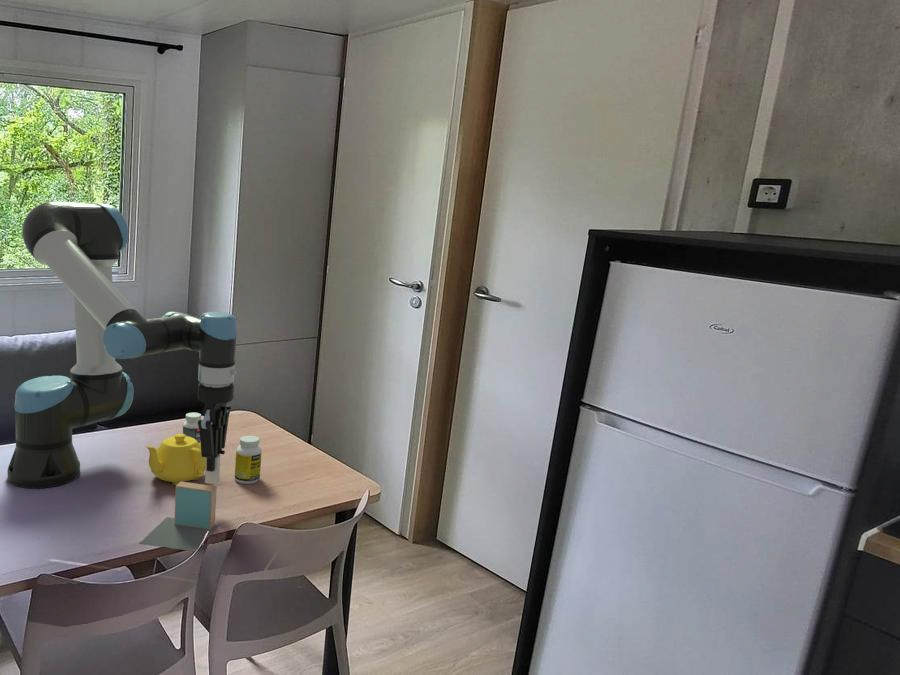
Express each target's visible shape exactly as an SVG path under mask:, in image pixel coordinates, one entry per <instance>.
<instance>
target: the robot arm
mask: <svg viewBox="0 0 900 675" xmlns="http://www.w3.org/2000/svg"><path fill="white" fill-rule="evenodd" d="M129 233H130V232H129V227H128V224H127V222H126V219H125V217H124V215H123V214H122V213H121V212H120V211H119V209H118V208H116V207H115V206H113V205H110V204H107V203H101V202H100V203H99V202H95V201H94V202H75V201H73V202H72V201H70V202H69V201H47V202H43V203H41V204H38V205H37V206H35V207H34V208H33V209H31V210H30V211H29V212H28V213H27V214H26V216H25V219H24V220H23V224H22V233H21V234H22V238H23V243H24V246H25V248H26V249H27V250H28V253H29V254H30V255H31V256H32V257H33V258H34V259H35V260H36V261H37V263H38V264H40V265H43V266H47V267H48V268H49V269H50V270H51V272H53V273H54V275H55V276H56V277H57V278H58V279H59V280H60V281H61V283H62V284H63V285H64V286H65V287H66V288H67V289H68V291H70V293H71V294H72V295H73V302H74V306H73V308H74V324H75V327H74V328H75V345H76V346H75V348H76V364H74V366H73V367H71V368H70V377H68V376H64V375H57V374H56V375H44V376H43V375H42V376H39V377H35V378H32V379H28V380H26V381H25V382H22V383H21V384H20V385H19V386H18V387H17V389H16V391H15V397H14V398H15V399H14V403H13V404H14V405H13V408H14V410H15V411H14V412H15V413H14V414H15V415H14V419H15V420H14V421H15V448H14V451H13V453H12V457H11V459H10V462H9V464H8V467H7V482H9V484H11V485H13V486H15V487H20V488H26V489H43V488H45V489H46V488H52V487H56V486H61V485H64V484H68V483H70V482H72V481H74V480H75V479H77V478H78V477H79V476H80V474H81V463H80V460H79V458H78V454H77V451H76V449H75V447H74V445H73V444H74V443H73V429H76V428H80V427H84V426H88V425H92V424H95V423H99V422H106V421H110V420H113V419H115V418H118V417H121V416H123V415H125V413H126V412H127V411H128V410H129V409H130V408H131V405H132V403H133V400H134V394H135V393H134V386H133V382H131V378H130V376H129V375H128V374H127V373H126V372H124V371H123V366H121V365H120V364H119V363H118V362H117V361H116V359H117V360H125V359H137V358H140V357H144V356H151V355H156V354H161V353H167V352H172V351H179V350H189V351H192V352H196V353H199V355H198V356H199V357H198V358H199V360H198V373H197V376H198V378H197V380H198V381H197V382H199V383H198V384H197V385H198V387H197V399H198V401H199V402H201V403H203V404H204V407H203V410H202V412H203V413H202V416H203V419H201V420H199V421H198V426H199V430H200V442H201V455H202V457H206V469H205V471H204V472H205V473H204V474H205V476H204V477H205V478H204V483H205V484H208V485H211V484H212V485H218V484H220V477H221V476H220V475H221V474H220V473H221V472H220V470H221V468H220V467H221V455H225V453H226V450H223V449H225V447H226V442H227V434H228V433H227V432H228V426H229V417H230V413H231V409H232V406H231V405H229V404H228V403H230V402H232V401H233V400H234V395H235V394H234V392H235V384H234V381H235V375H237V370H235V368H236V366H235V364H236V348H237V347H236V345H237V337H238V330H237V318H236V316H235V315H234V314H232V313H229V312H222V311H207V312H204V313H202V314H201V315H200V317H199V316H195V315H190V314H188V313H185V312H181V311H180V312H178V311H168V312H166V313H165V314H163V316H160V317H155V318H147V319H146V318H144V317H143V315H141V313H140V312H139V311H138V310H137V309H136V308H135V307H134V306H133V305H132V304H131V302H129V300H128V299H127V298H126V297H125V296H124V295H123V294H122V293H121V292H120V291H119V289H118V288H117V287H116V286H115V285H114V284H113V282H114V281H113V266H114V265H115V264H116V263H117V262H118V261H119V252H121V251H123V249H125V248H126V247H127V245H126V244H128V242H129V235H130V234H129ZM227 404H228V405H227Z"/></svg>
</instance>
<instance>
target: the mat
mask: <svg viewBox="0 0 900 675" xmlns="http://www.w3.org/2000/svg"><path fill="white" fill-rule="evenodd" d="M174 521H175V517H169V516H168V517H167V516H166V517H165V518H164V519H163V520H162V521H161V522H160V523H159V524H158V525H157V526H155V527H154V529H153V530H151V531H150V532H149V534H147V535H146V536H145V537H144V538H143V539H142V540H141V541H140V542H139V544H140V545H147V546H148V545H149V546H155V547H161V548H168V549H173V550H181V551H188V552H193V553H196V552H195V551H196V549H197V548H198V547H199V545H200V544H201V542H202V539H203V537H204V536H205V534H206V533H207V531H209V533H210V534H209V538H210V537H211V536H212V534H214V533H215V531H216V530H217V529H218V528H219V526H220V524H217V523H215V525H214V526H213V527H212V528H211V530H209V529H202V528H195V527H188V526H181V525H174Z"/></svg>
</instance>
